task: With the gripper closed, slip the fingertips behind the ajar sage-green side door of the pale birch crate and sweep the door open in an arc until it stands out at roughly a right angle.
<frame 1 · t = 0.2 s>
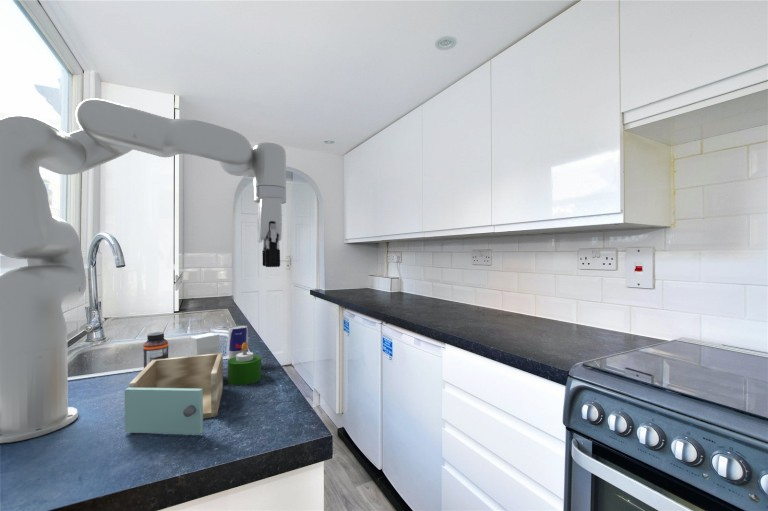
hand: (270, 266, 82), 31 cm above the countertop, fingers open, 9 cm apart
energy drink: (238, 367, 102), on the countertop
candle: (244, 380, 92), on the countertop
crate: (182, 406, 75), on the countertop
supplement bottle: (156, 373, 98), on the countertop
door: (161, 412, 63), point 4 cm above the countertop, hinge at 25.0°
skincare box: (205, 380, 92), on the countertop
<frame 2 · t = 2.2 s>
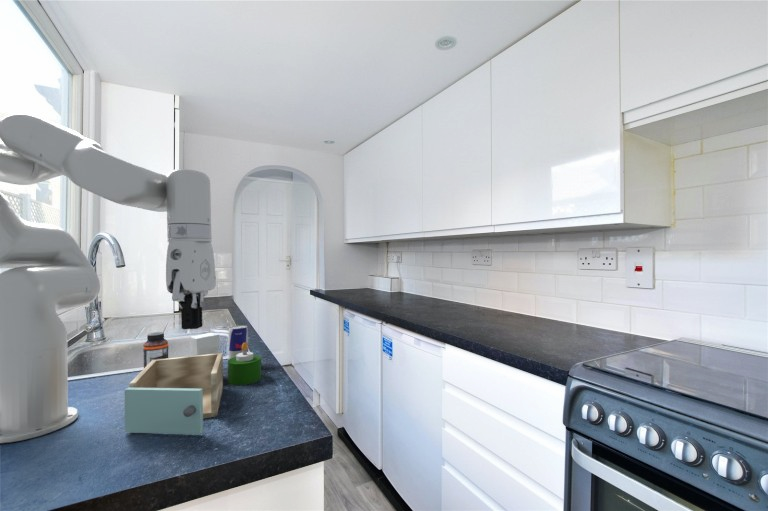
hand: (192, 327, 66), 19 cm above the countertop, fingers closed
nothing on the countertop moved.
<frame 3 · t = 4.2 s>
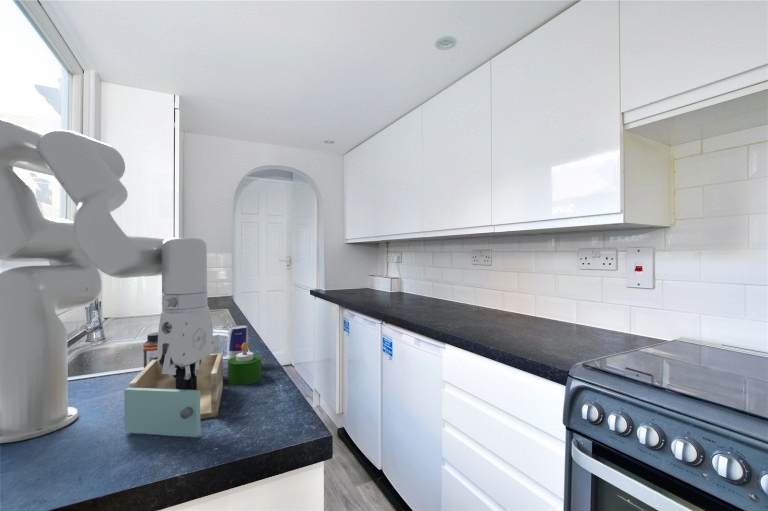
hand: (186, 397, 65), 6 cm above the countertop, fingers closed
door: (159, 413, 62), point 4 cm above the countertop, hinge at 28.0°, touching gripper
everything else where it was.
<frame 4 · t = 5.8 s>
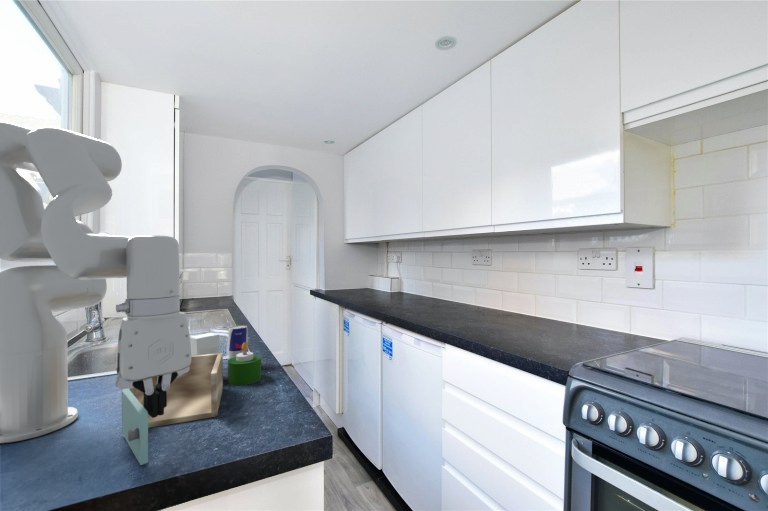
hand: (155, 413, 58), 6 cm above the countertop, fingers closed
door: (129, 424, 58), point 4 cm above the countertop, hinge at 64.3°, touching gripper
everything else where it was.
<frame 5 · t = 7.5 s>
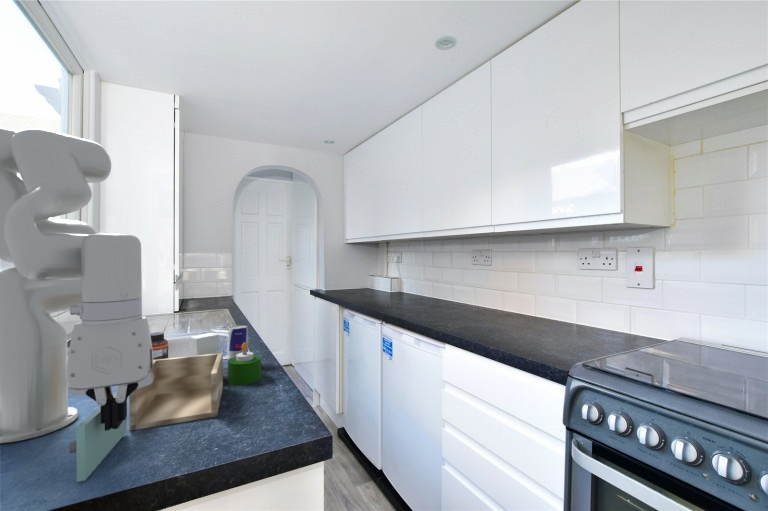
hand: (114, 425, 54), 6 cm above the countertop, fingers closed
door: (100, 430, 56), point 4 cm above the countertop, hinge at 93.5°, touching gripper
everything else where it was.
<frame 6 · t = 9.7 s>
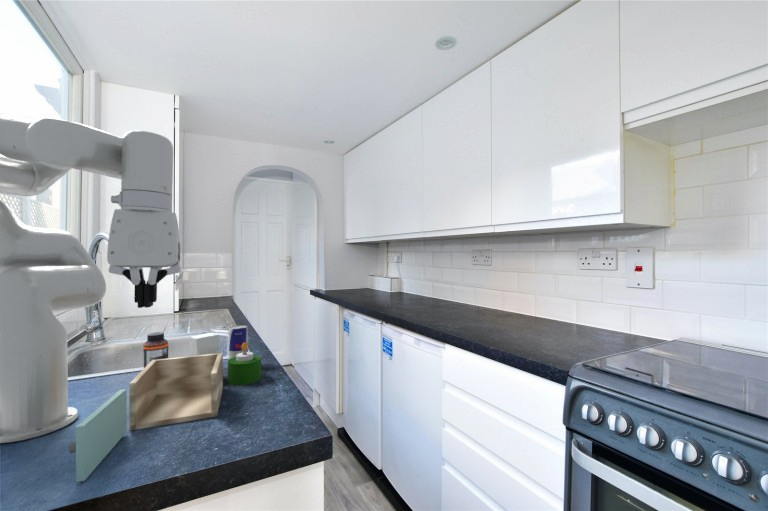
hand: (145, 306, 61), 24 cm above the countertop, fingers closed
door: (100, 430, 56), point 4 cm above the countertop, hinge at 93.7°
everything else where it was.
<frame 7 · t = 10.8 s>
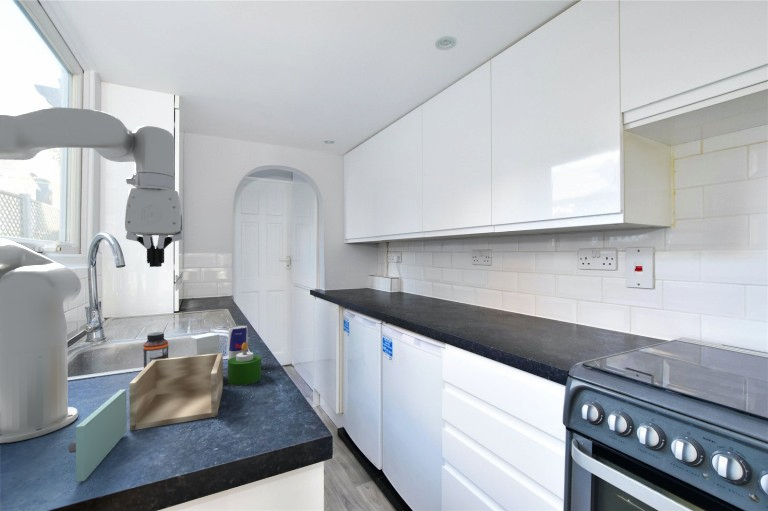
hand: (155, 266, 76), 31 cm above the countertop, fingers closed
nothing on the countertop moved.
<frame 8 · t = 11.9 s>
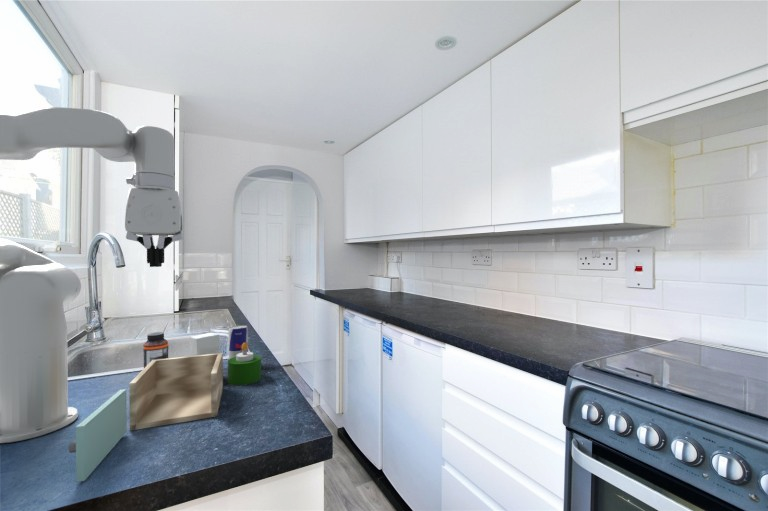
hand: (155, 266, 76), 31 cm above the countertop, fingers closed
nothing on the countertop moved.
at the end: door at +94° (first picture: +25°) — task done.
